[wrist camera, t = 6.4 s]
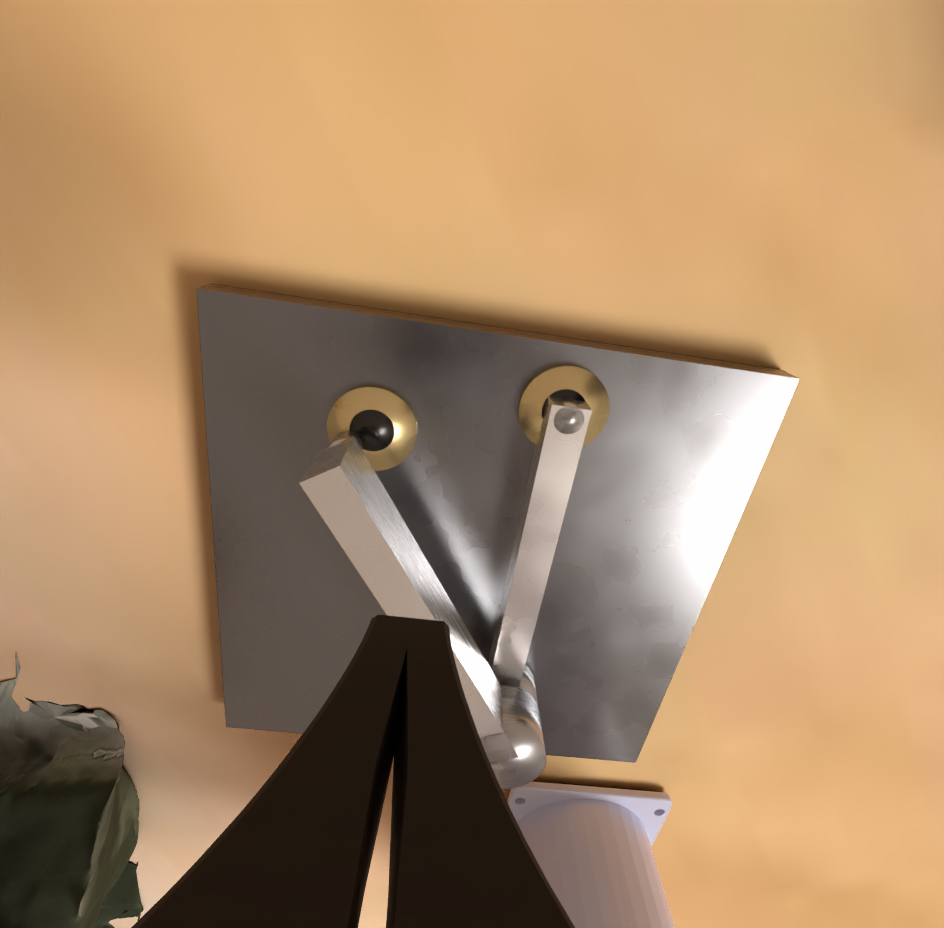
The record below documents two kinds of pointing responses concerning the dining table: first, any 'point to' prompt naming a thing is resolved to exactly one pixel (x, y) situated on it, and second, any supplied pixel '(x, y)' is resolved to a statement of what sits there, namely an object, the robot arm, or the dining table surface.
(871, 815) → the dining table surface
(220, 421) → the plate
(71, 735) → the rose bouquet
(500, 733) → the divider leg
